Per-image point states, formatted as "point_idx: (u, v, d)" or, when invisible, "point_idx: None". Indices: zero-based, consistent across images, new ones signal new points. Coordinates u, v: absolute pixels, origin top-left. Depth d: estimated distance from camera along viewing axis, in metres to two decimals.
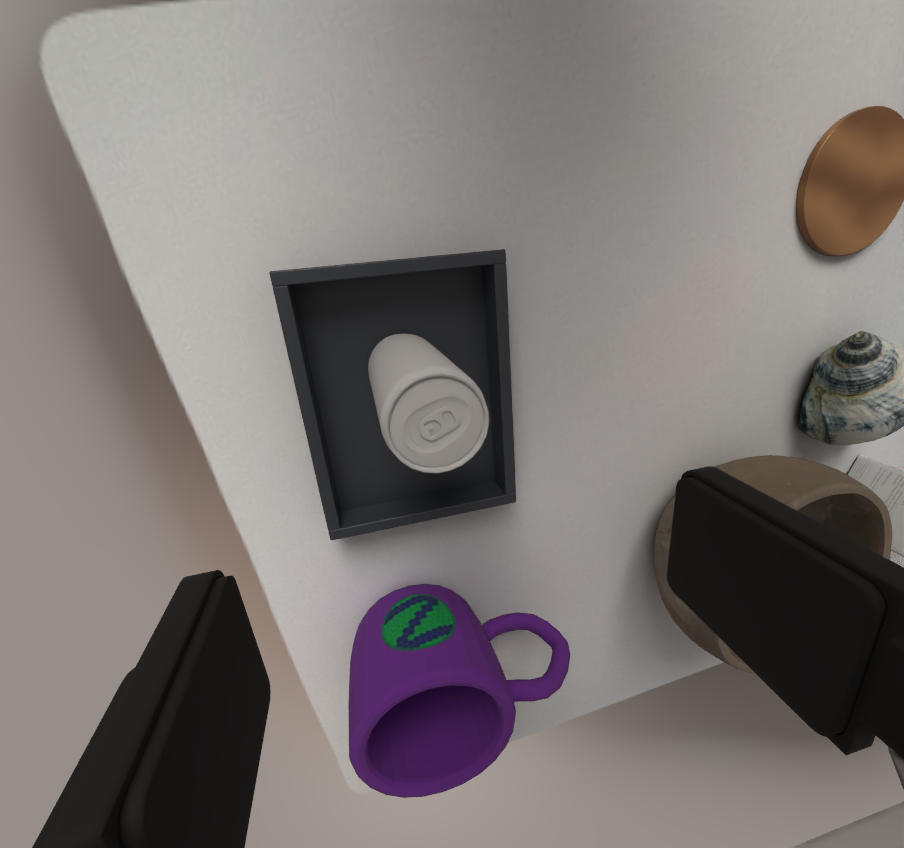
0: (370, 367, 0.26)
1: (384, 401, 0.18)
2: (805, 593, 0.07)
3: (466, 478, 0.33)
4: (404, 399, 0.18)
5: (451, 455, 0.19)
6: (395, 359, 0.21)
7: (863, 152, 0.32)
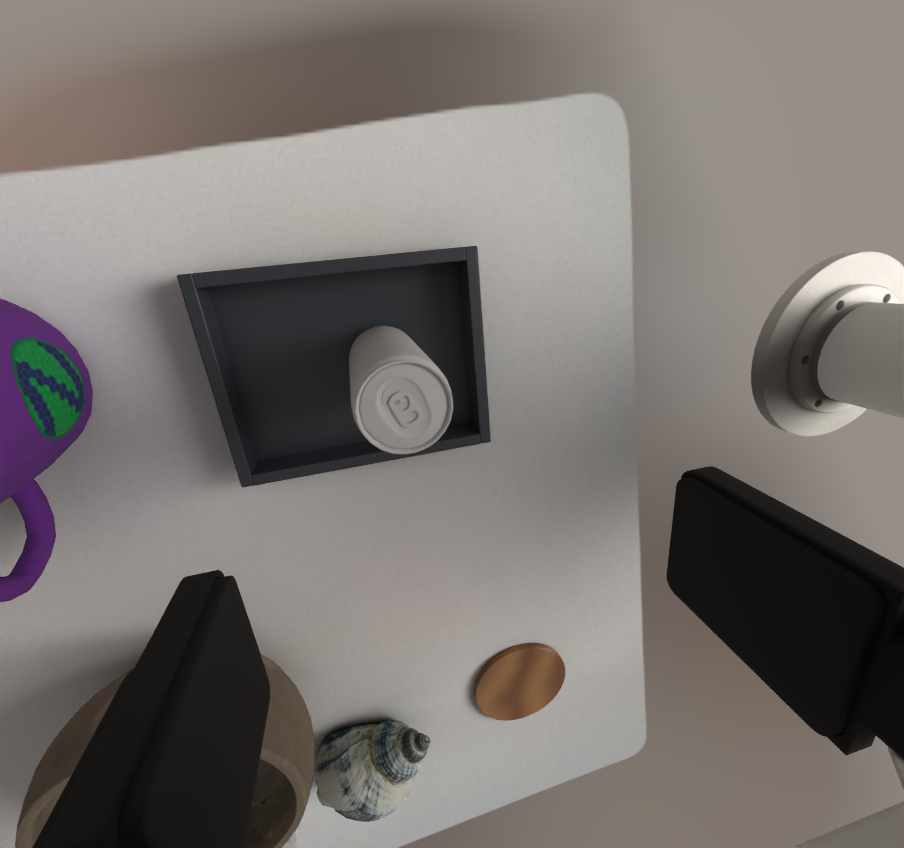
0: (394, 330, 0.28)
1: (422, 357, 0.20)
2: (805, 593, 0.07)
3: (258, 429, 0.30)
4: (429, 376, 0.20)
5: (372, 423, 0.20)
6: None
7: (540, 677, 0.45)
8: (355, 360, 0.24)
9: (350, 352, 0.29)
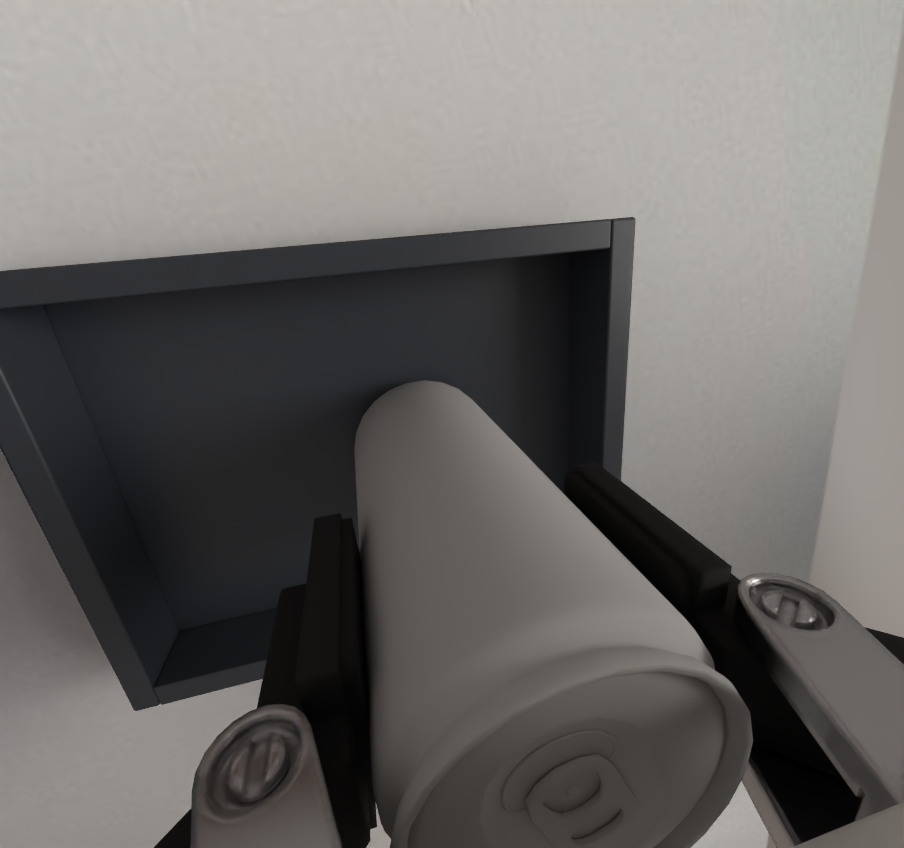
0: (454, 398, 0.13)
1: (645, 603, 0.05)
2: None
3: (176, 577, 0.16)
4: (688, 694, 0.05)
5: None
6: None
7: None
8: (375, 507, 0.09)
9: (358, 438, 0.14)
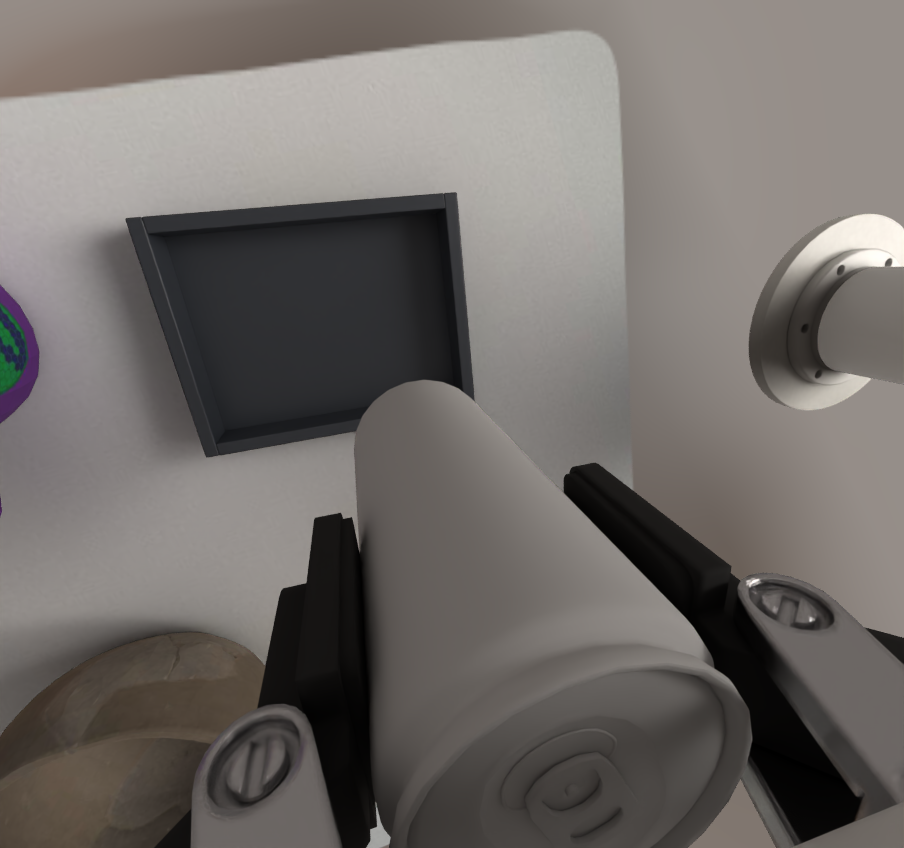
0: (453, 397, 0.13)
1: (645, 601, 0.05)
2: None
3: (224, 396, 0.28)
4: (688, 693, 0.05)
5: None
6: None
7: None
8: (375, 506, 0.09)
9: (357, 438, 0.14)
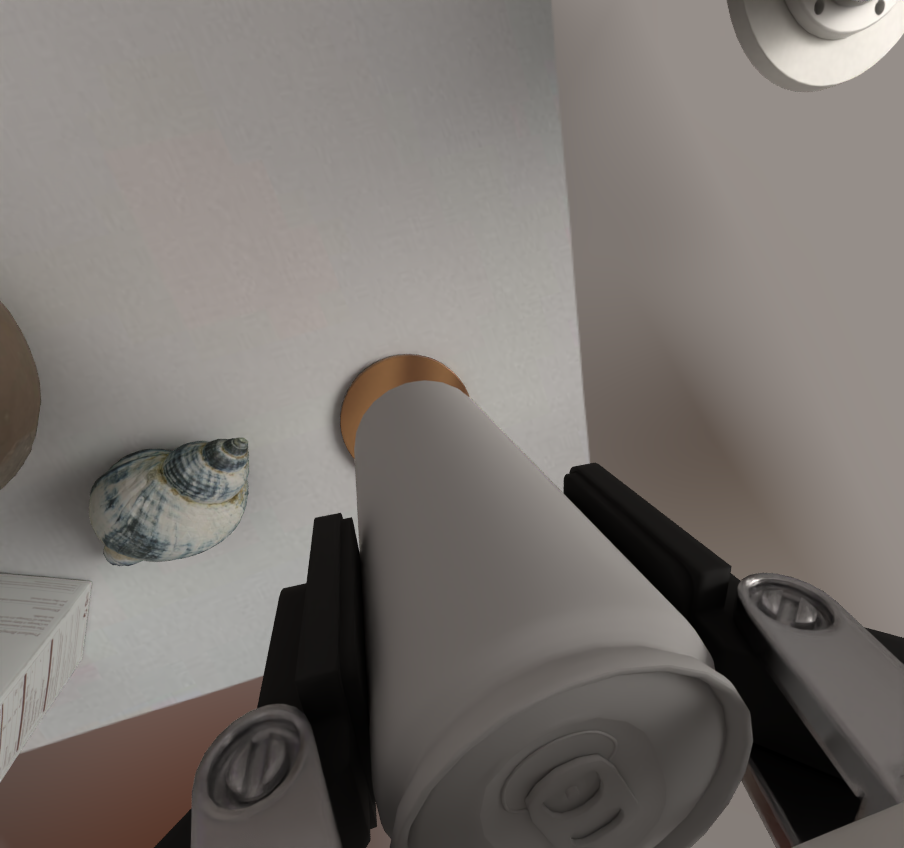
0: (454, 398, 0.13)
1: (646, 603, 0.05)
2: None
3: None
4: (689, 694, 0.05)
5: None
6: None
7: None
8: (375, 507, 0.09)
9: (358, 438, 0.14)
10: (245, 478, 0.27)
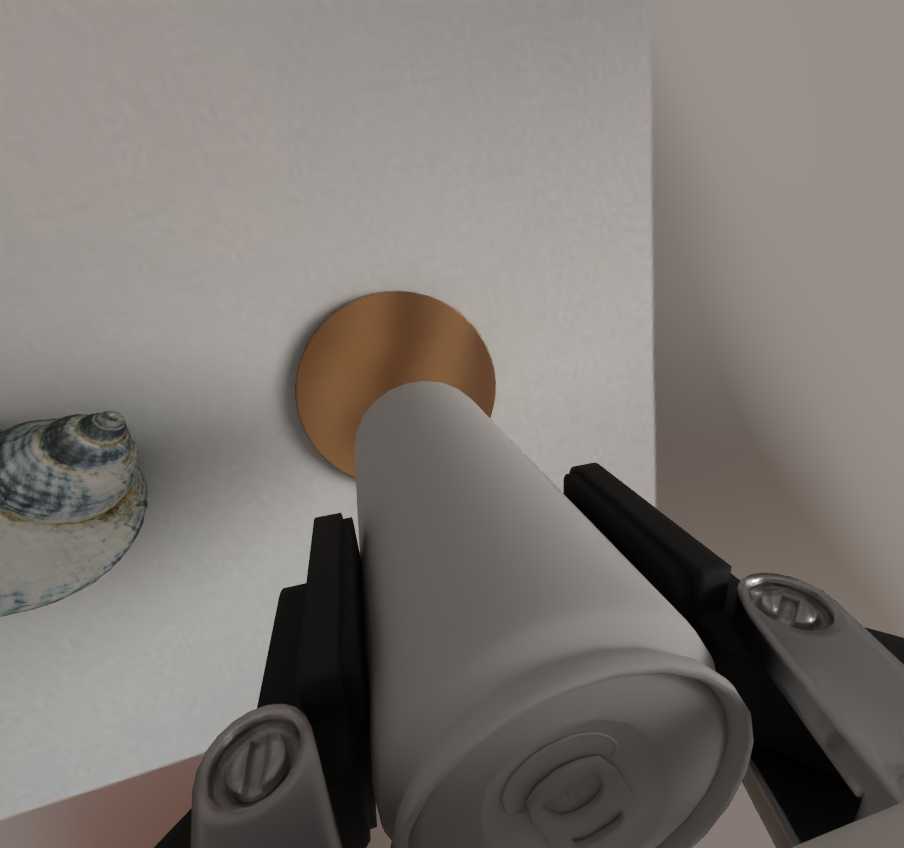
0: (454, 399, 0.13)
1: (646, 604, 0.05)
2: None
3: None
4: (689, 694, 0.05)
5: None
6: None
7: None
8: (375, 507, 0.09)
9: (358, 439, 0.14)
10: (127, 480, 0.17)
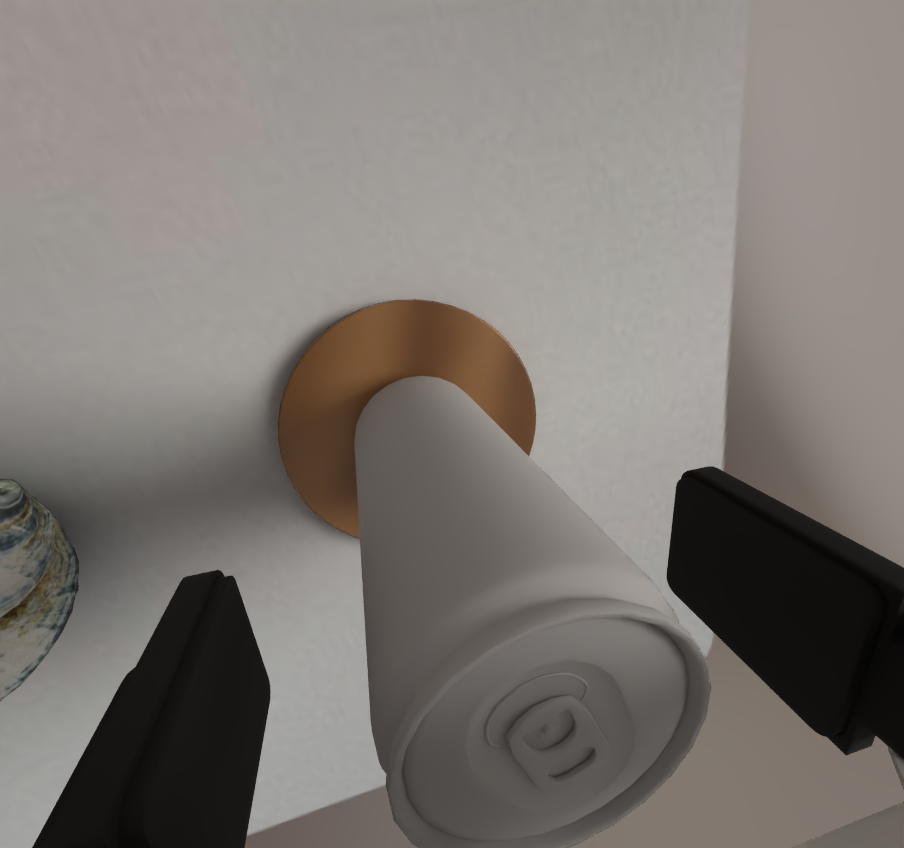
0: (449, 392, 0.14)
1: (614, 563, 0.06)
2: (805, 593, 0.07)
3: None
4: (651, 643, 0.06)
5: (446, 801, 0.06)
6: None
7: None
8: (374, 490, 0.10)
9: (357, 431, 0.14)
10: (34, 571, 0.12)
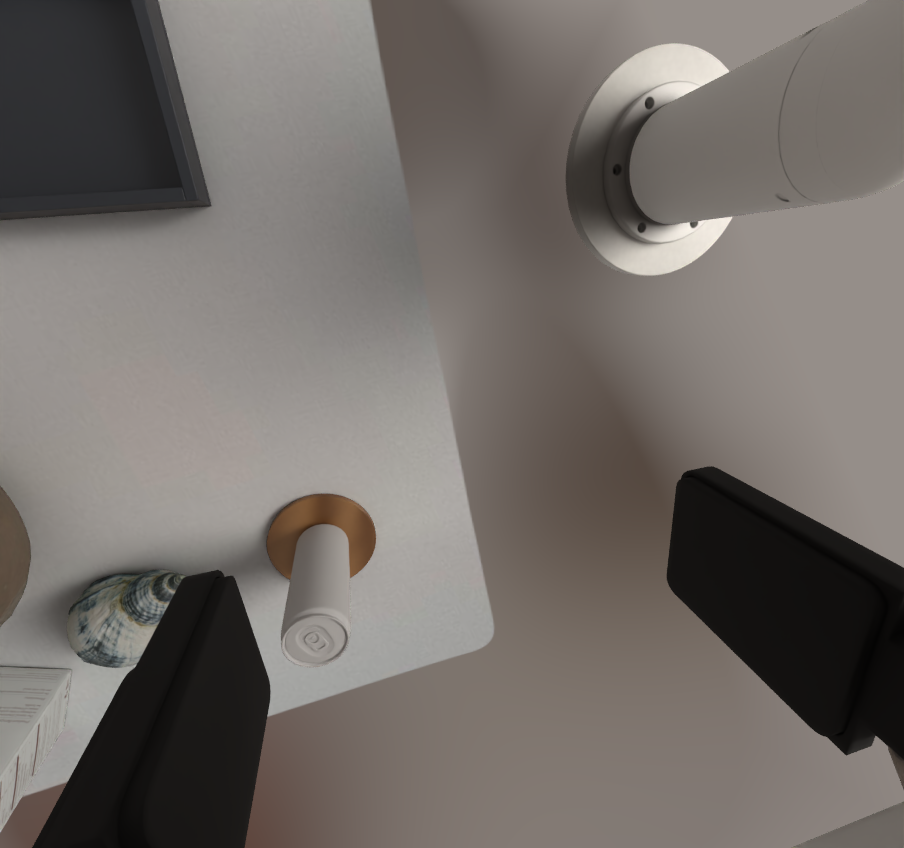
0: (327, 536, 0.38)
1: (327, 607, 0.30)
2: (805, 593, 0.07)
3: None
4: (331, 622, 0.30)
5: (294, 651, 0.30)
6: (344, 580, 0.34)
7: None
8: (291, 581, 0.34)
9: (296, 547, 0.39)
10: None
